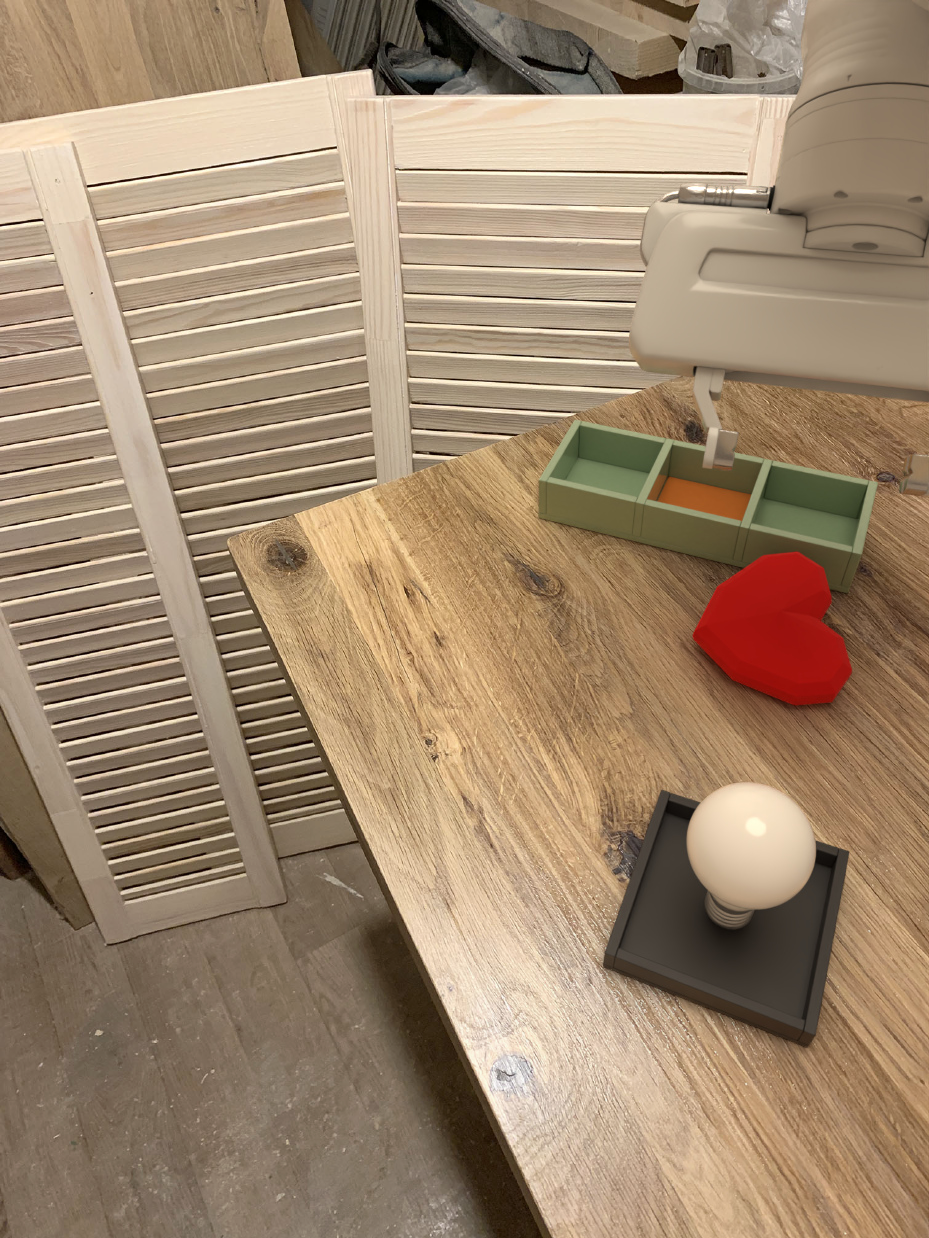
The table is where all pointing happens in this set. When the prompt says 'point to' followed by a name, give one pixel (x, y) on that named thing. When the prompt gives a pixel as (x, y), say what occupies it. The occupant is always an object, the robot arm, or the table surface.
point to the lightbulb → (749, 850)
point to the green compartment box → (705, 501)
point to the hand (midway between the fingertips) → (815, 481)
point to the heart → (776, 630)
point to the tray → (726, 935)
